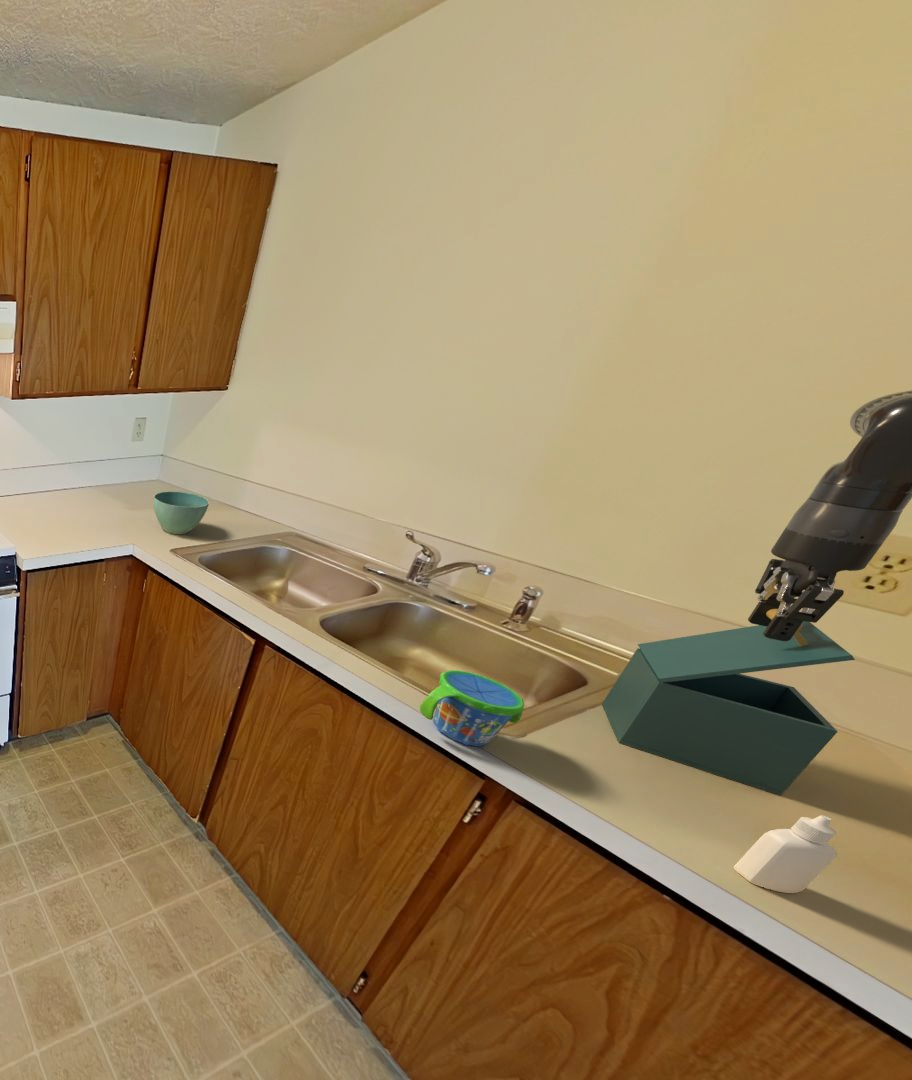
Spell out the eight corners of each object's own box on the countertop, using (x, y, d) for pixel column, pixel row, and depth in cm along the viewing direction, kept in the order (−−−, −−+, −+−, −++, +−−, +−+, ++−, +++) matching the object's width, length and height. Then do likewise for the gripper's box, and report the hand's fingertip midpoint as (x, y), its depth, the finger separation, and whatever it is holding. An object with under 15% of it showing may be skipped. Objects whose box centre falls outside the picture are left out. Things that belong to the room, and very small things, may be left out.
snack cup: (483, 717, 96) (506, 673, 92) (533, 760, 86) (561, 713, 82) (393, 708, 98) (411, 665, 94) (431, 749, 88) (454, 703, 84)
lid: (807, 622, 81) (787, 594, 82) (855, 659, 72) (832, 628, 73) (639, 647, 94) (623, 623, 94) (661, 682, 85) (643, 655, 85)
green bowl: (184, 543, 173) (190, 510, 168) (138, 528, 187) (143, 496, 182) (212, 532, 183) (219, 500, 178) (167, 518, 197) (172, 488, 192)
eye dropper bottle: (723, 855, 71) (778, 793, 66) (794, 881, 67) (856, 818, 63) (737, 878, 68) (795, 815, 63) (811, 907, 64) (878, 843, 60)
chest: (745, 747, 89) (794, 687, 84) (780, 796, 80) (838, 731, 75) (601, 704, 99) (637, 648, 94) (618, 742, 90) (658, 682, 85)
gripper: (915, 553, 67) (833, 660, 73) (854, 525, 77) (787, 621, 83) (812, 540, 71) (744, 641, 78) (767, 515, 81) (710, 606, 88)
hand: (766, 630), depth 80 cm, fingers closed on lid, 5 cm apart
